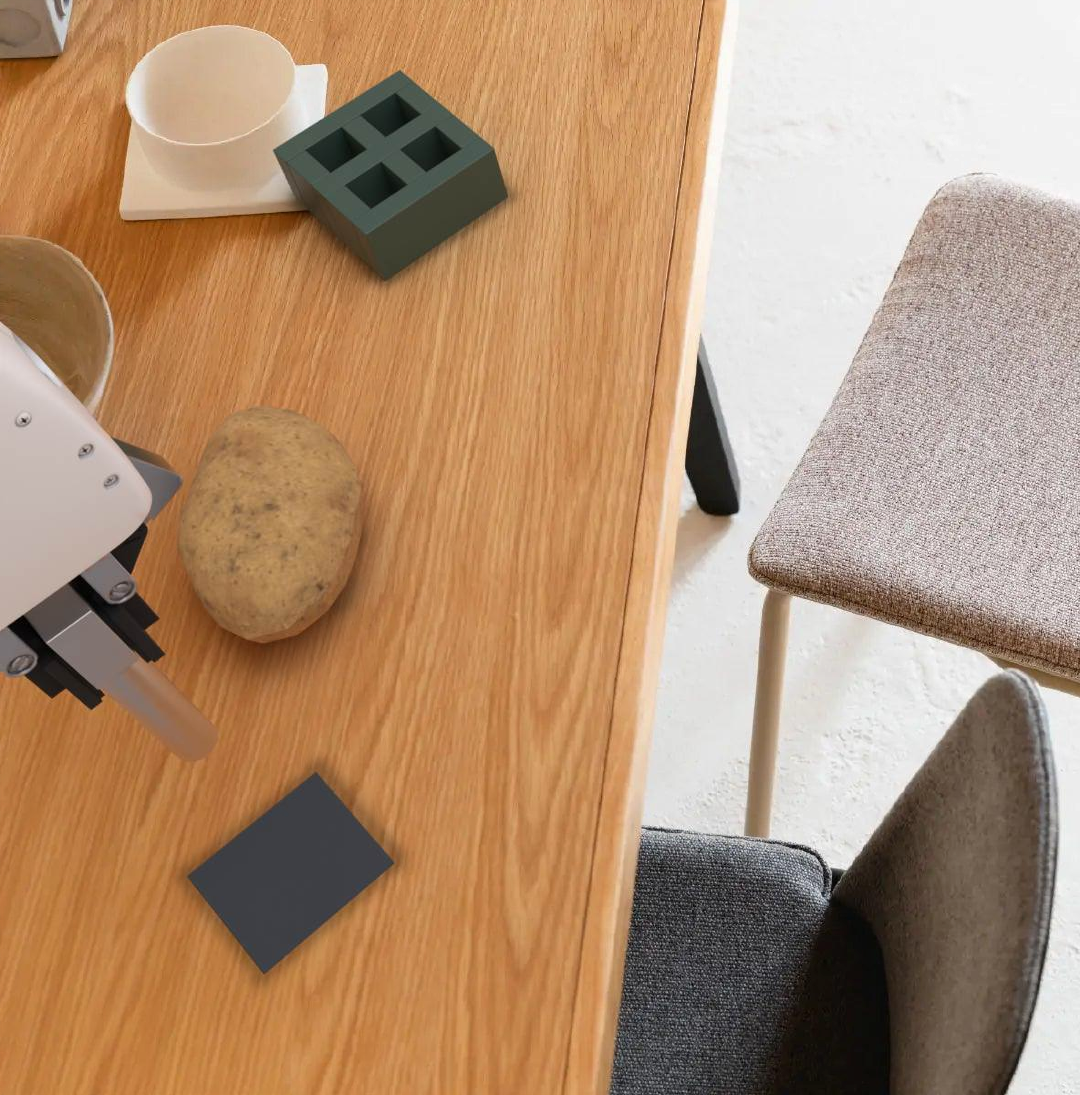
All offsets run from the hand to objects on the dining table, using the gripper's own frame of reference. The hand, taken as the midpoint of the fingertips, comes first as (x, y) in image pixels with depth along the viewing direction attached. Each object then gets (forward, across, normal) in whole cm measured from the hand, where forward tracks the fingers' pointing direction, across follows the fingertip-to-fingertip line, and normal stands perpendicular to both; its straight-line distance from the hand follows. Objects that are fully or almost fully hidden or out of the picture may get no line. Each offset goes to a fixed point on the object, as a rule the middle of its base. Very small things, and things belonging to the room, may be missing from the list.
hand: (107, 656), depth 56 cm
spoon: (+9, 0, 0) cm, 9 cm away
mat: (+23, +1, +1) cm, 23 cm away
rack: (+23, -30, -32) cm, 50 cm away
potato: (+23, -9, -14) cm, 28 cm away
